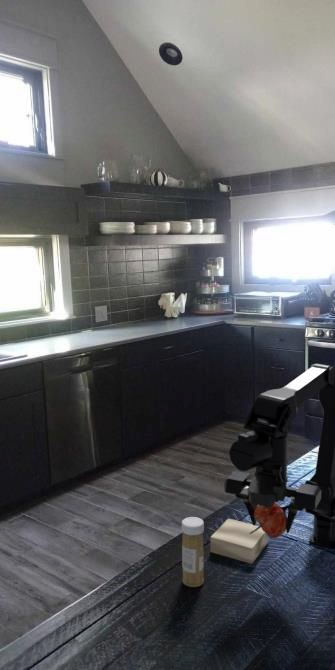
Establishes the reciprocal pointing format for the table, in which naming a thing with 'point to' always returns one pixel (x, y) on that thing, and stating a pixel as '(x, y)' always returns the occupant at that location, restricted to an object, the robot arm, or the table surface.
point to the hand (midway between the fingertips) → (271, 528)
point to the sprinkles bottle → (192, 551)
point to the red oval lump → (271, 520)
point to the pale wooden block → (238, 541)
